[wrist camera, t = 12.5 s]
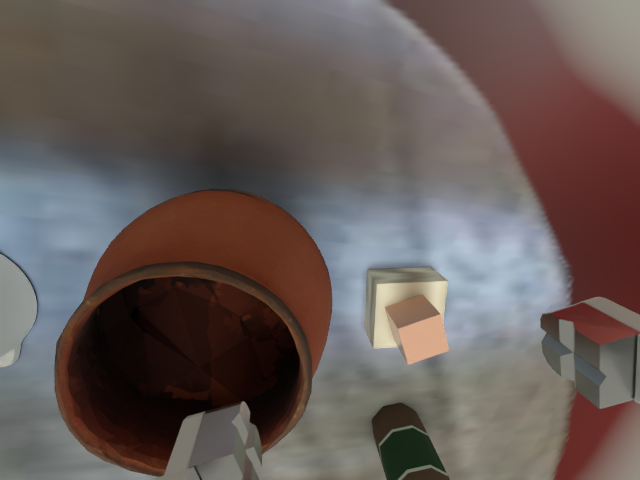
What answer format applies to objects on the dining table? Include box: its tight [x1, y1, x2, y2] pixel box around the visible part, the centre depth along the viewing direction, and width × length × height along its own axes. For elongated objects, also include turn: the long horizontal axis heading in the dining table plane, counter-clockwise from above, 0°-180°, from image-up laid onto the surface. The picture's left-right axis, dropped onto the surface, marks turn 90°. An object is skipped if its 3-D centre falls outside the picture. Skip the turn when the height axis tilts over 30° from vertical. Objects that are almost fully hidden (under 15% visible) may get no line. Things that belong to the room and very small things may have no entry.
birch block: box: [365, 267, 448, 349], centre depth 45 cm, size 9×9×5 cm
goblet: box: [55, 189, 332, 477], centre depth 31 cm, size 19×19×25 cm
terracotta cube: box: [385, 294, 449, 365], centre depth 40 cm, size 5×5×5 cm
